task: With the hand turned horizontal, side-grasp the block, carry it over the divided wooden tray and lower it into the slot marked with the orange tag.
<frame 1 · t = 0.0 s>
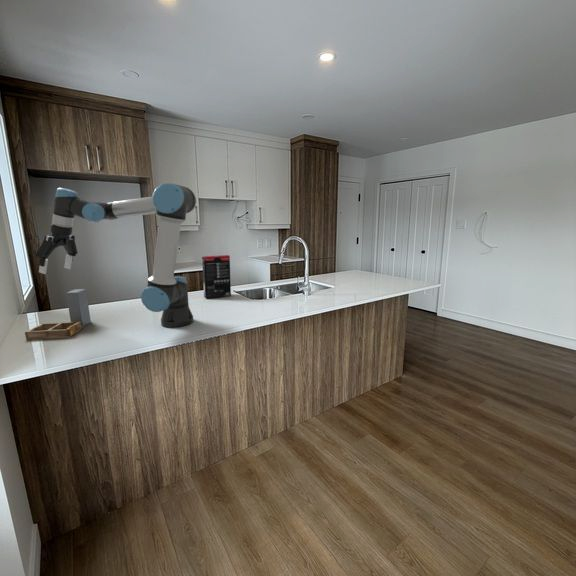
hand: (55, 270, 142), 28 cm above the countertop, tool tilted 20°, fingers open, 13 cm apart
block: (81, 324, 155), on the countertop
divided wooden tray: (55, 333, 142), on the countertop
graphics card box: (218, 297, 209), on the countertop
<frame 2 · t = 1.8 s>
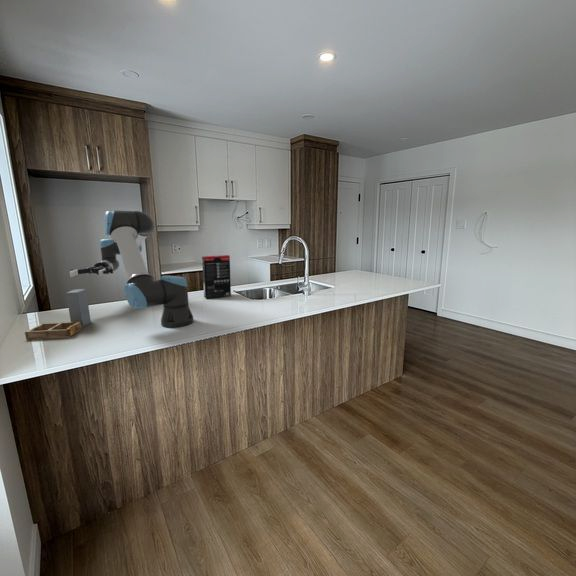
hand: (85, 273, 159), 24 cm above the countertop, tool horizontal, fingers open, 13 cm apart
nothing on the countertop moved.
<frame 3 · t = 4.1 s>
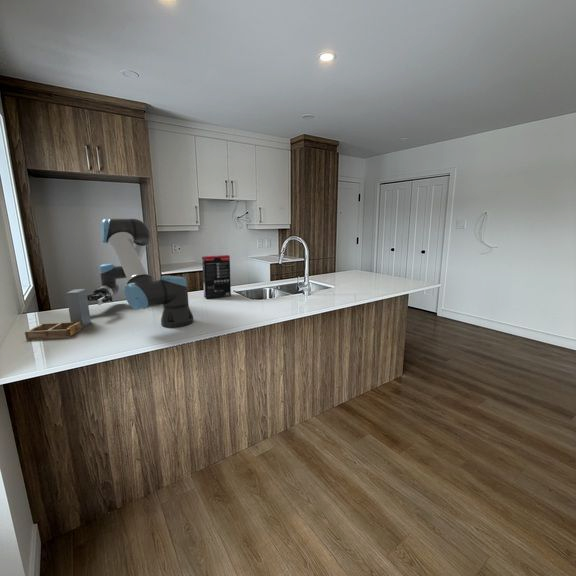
hand: (84, 303, 158), 9 cm above the countertop, tool horizontal, fingers open, 13 cm apart
nothing on the countertop moved.
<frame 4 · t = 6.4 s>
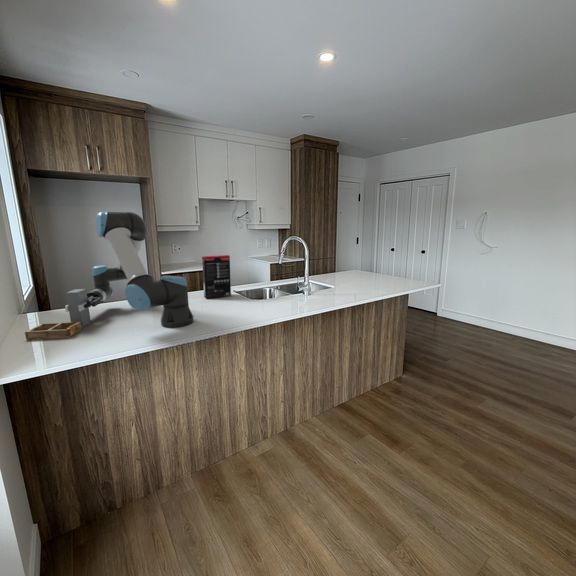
hand: (72, 308, 147), 10 cm above the countertop, tool horizontal, fingers closed on block, 5 cm apart
block: (81, 324, 155), on the countertop, touching gripper
everything else where it was.
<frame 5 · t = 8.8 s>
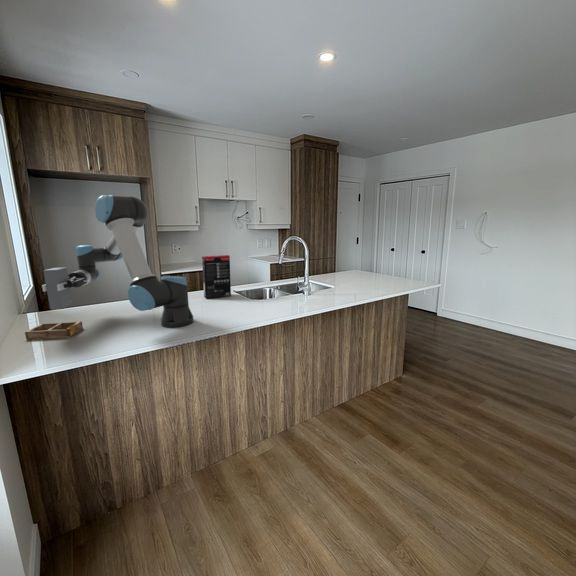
hand: (50, 288, 133), 22 cm above the countertop, tool horizontal, fingers closed on block, 5 cm apart
block: (61, 306, 140), point 12 cm above the countertop, touching gripper
everything else where it was.
when the fingers open (12 cm above the countertop, at t = 11.0 s): block drops 1 cm, resting on divided wooden tray.
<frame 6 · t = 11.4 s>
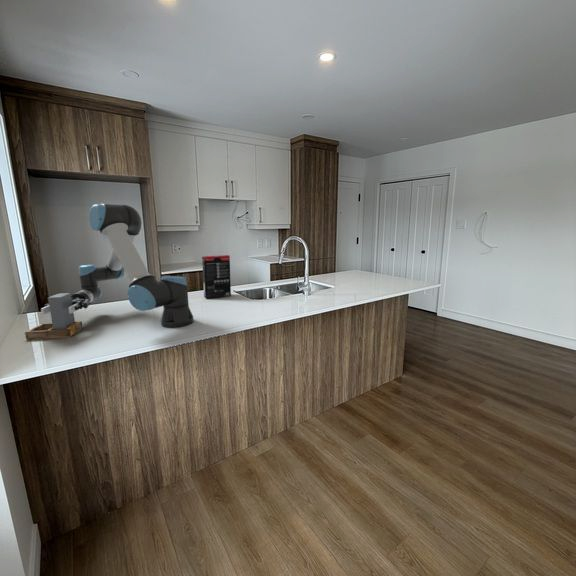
hand: (56, 311, 136), 12 cm above the countertop, tool horizontal, fingers open, 10 cm apart
block: (65, 331, 143), point 1 cm above the countertop, touching divided wooden tray
everything else where it was.
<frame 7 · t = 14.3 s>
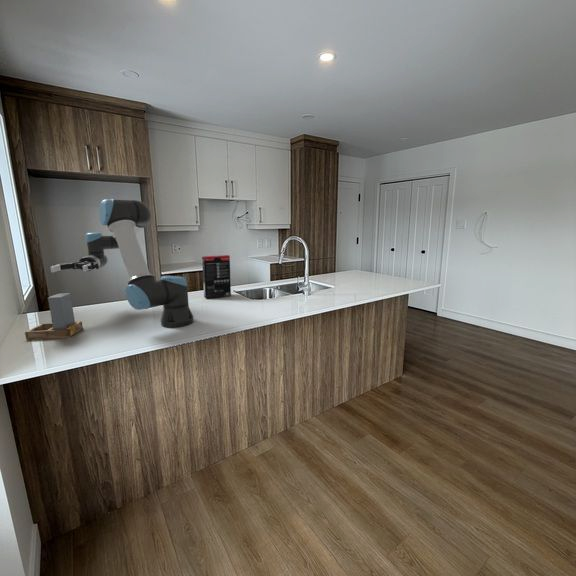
hand: (67, 269, 146), 28 cm above the countertop, tool horizontal, fingers open, 13 cm apart
nothing on the countertop moved.
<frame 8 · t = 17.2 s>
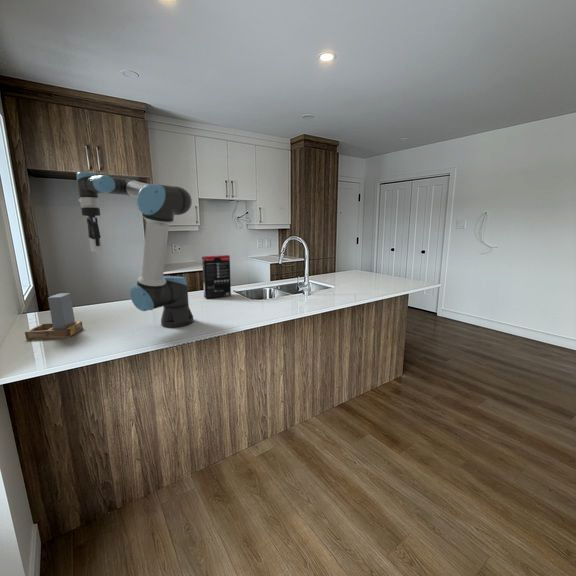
hand: (96, 252, 154), 35 cm above the countertop, tool pointing down, fingers open, 13 cm apart
nothing on the countertop moved.
at the end: block 0.0 cm from the target spot on the divided wooden tray, point 0.6 cm above the divided wooden tray's base; block tilted 0°; the gripper is holding nothing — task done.
